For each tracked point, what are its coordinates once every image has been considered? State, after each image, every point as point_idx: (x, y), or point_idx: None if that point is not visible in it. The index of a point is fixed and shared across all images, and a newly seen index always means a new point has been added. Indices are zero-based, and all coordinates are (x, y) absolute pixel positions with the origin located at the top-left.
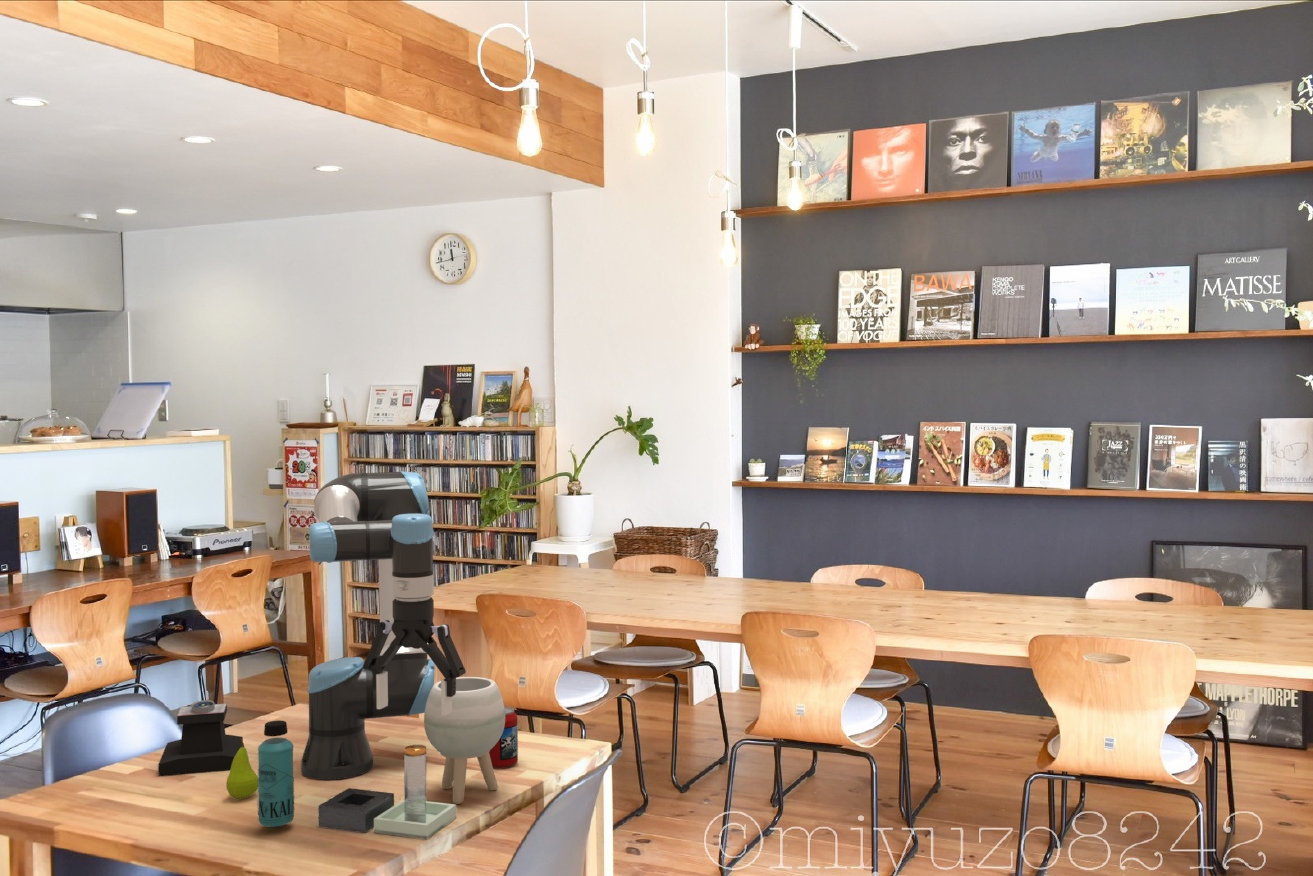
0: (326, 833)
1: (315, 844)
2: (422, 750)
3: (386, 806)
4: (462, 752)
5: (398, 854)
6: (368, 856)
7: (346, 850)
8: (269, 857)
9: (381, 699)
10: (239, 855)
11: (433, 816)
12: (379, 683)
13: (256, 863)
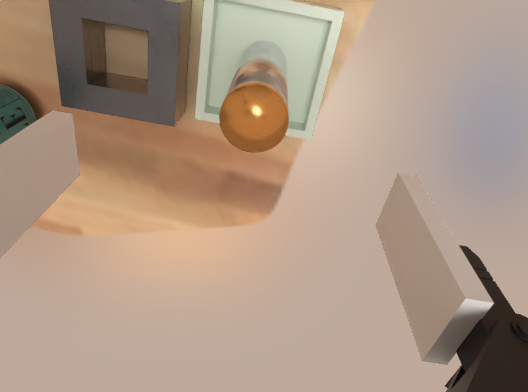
0: (116, 119)
1: (129, 164)
2: (283, 137)
3: (183, 37)
4: None
5: (280, 188)
6: (236, 198)
7: (191, 181)
8: (94, 212)
9: (55, 185)
10: (47, 209)
11: (292, 26)
12: (2, 252)
13: (92, 230)
